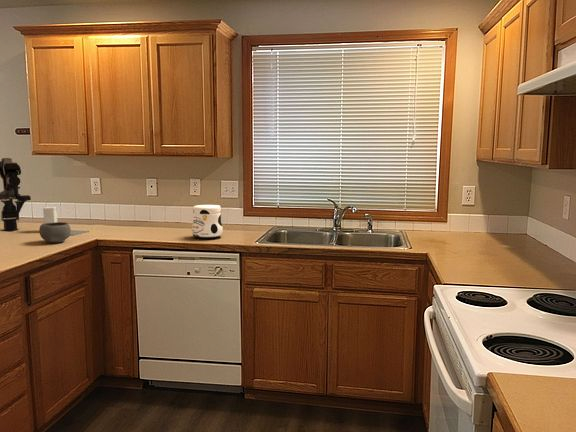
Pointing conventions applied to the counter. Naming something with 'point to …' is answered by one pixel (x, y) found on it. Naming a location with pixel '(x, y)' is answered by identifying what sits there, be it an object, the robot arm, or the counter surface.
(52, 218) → the skincare box
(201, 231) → the milk container
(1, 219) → the robot arm
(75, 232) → the mat
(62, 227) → the bowl
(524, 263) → the counter surface
